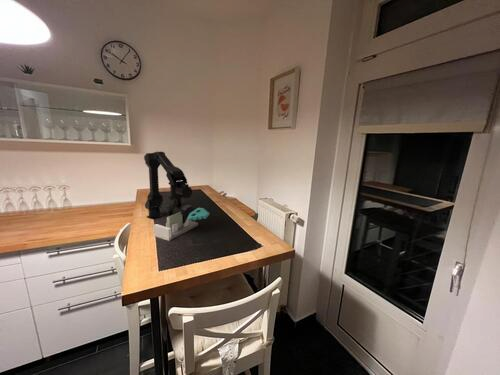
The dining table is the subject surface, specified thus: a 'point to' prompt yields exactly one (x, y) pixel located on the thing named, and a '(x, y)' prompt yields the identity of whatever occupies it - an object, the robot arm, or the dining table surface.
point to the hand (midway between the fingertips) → (177, 221)
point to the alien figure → (198, 214)
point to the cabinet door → (175, 220)
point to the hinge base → (173, 230)
